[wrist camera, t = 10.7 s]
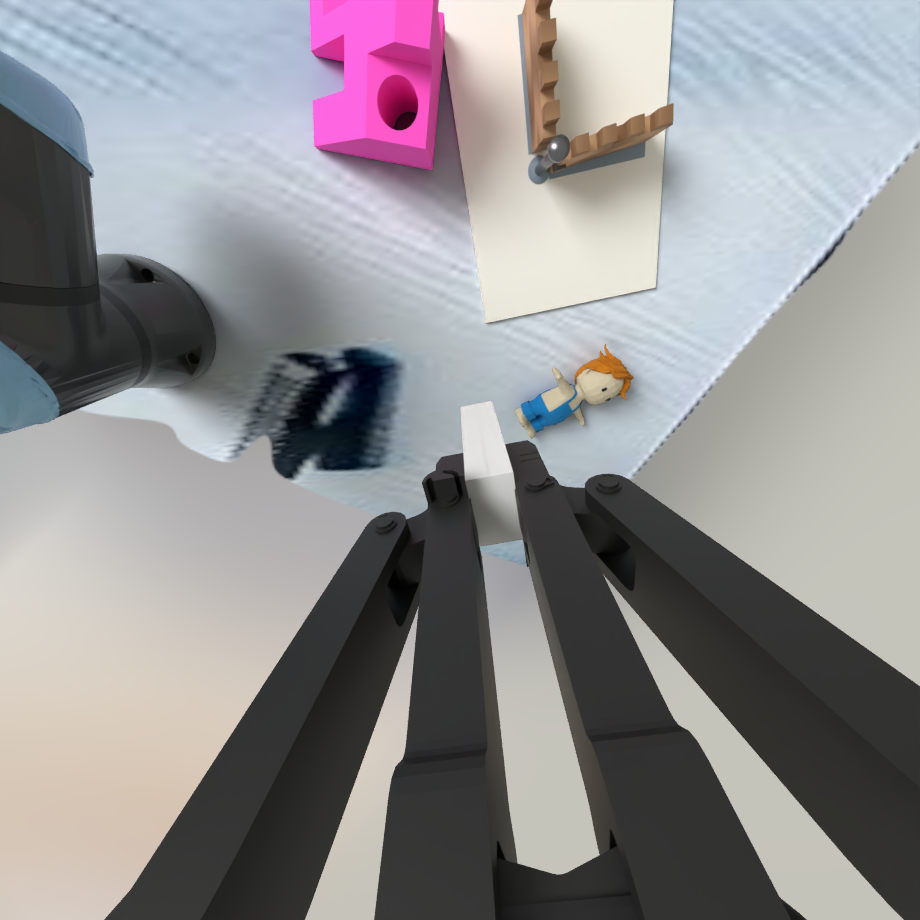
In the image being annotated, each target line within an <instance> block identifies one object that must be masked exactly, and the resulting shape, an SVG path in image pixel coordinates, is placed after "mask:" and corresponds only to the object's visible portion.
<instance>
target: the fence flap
mask: <svg viewBox="0 0 920 920" xmlns="http://www.w3.org/2000/svg"><path fill="white" fill-rule="evenodd" d="M671 125H673V104H670V105H667V106H664V107H661V108H659V109H657V110H656V111H655V112H653V113H652V114H651V115H649V116H646V117H645V113H643V114H640V115H638V116H635V117H632V118H630V119H629V120H627V121H626V122H625V123H624V124H622V125H619V126H617V123H614V124H611V125H608V126H605V127H603V128H602V129H600V130H599V131H598V132H597V133H596V134H593V135H590V136H589V132H588V133H585V134H582V135H579V136H576V137H575V138H574V139H573V140H572V141H571V142H570V151H569V154H568V156H567V157H566V158H565V159H564V160H563V161H562V162H560V163H553V164H552V165H551V166H550V167H549V169H550V173H556V172H559V171H562V170H564V169H565V168H568V167H571V166H574V165H577V164H580V163H583V162H586V161H589V160H592V159H595V158H598V157H601V156H604V155H607V154H610V153H613V152H616V151H619V150H622V149H625V148H628V147H631V146H634V145H637V144H640V143H643V142H646V141H648V140H649V139H651V138H652V137H654V136H655V135H657V134H659V133H660V132H662V131H663V130H665V129H666V128H668V127H669V126H671Z"/></svg>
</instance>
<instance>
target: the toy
mask: <svg viewBox="0 0 920 920" xmlns="http://www.w3.org/2000/svg"><path fill="white" fill-rule="evenodd" d="M604 348H605V352H606V355H607V356H604V355H603V354H602V353H601V351H600V357H599V358H598V359H595V360H592V361H590V362H588V363H587V364H585V365H583V366H582V367H581V368H580V369H579V370H578V371H577V373H576V375H575V383H576V385H575V386H574V385H571V384H568V383H567V381H566V380H565V379H564V377H563V376H562V374H561V373H560V371H559V370H558V369H557V368H555V367H553V368H552V371H553V373H554V375H555V377H556V380H557V383H558V387H556V388H553V389H550V390H547V391H545V392H544V393H542V394H539V395H538V396H537V397H536V398H535V399H534V400H532V401H530V402H529V401H527V402H525V403H523V404H521V407H519V408H517V409H515V412H516V415H517V418H518V420H519V422H520V424H521V425H522V427H525V428H526V430H527V433H528V435H529V436H530V438H531V439H532V438H534V437H535V431H536V432H538V431H540V430H543V427H544V426H549V425H555V424H557V423H559V422H561V421H563V420H565V419H566V418H567V417H568V416H570V415H571V414H573V413H574V415H575V416H576V417H577V419H578V420H579V422H580V424H581V425H582V426H583V425H584V423H585V421H584V418H583V415H582V412H581V409H580V405H581V402H582V400H587V401H588V402H589V403H590V404H593V405H596V404H601V403H604V402H606V401H608V400H610V399H612V398H613V397H614V396H615V395H617V394H618V393H619V392H620V391H621V393H619V394H618V395H621V396H622V397H623V398H624V399H626V400H627V398H626V397H625V393H626V392H627V391H628V389H629V387H630V383H631V381H630V380H632V379H633V376H632V375H631V374H630V373H629V372H628V371H627V370H626V367H624V365H623V364H622V362H621V361H620V360H619V359H617V358H616V357H613V356H612V355H611V354H610V353H609V351H608V350H607V348H606V344H605V347H604ZM618 395H617V396H618ZM629 401H630V400H629Z"/></svg>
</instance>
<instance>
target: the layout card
mask: <svg viewBox="0 0 920 920" xmlns="http://www.w3.org/2000/svg"><path fill="white" fill-rule="evenodd" d="M525 1H526V0H439V6H438V12H442V13H444V20H445V40H444V52H445V59H446V66H447V72H448V79H449V85H450V92H451V99H452V105H453V112H454V118H455V125H456V131H457V138H458V145H459V151H460V158H461V164H462V171H463V178H464V184H465V191H466V197H467V204H468V211H469V217H470V224H471V230H472V237H473V243H474V250H475V257H476V263H477V270H478V276H479V283H480V290H481V296H482V303H483V309H484V316H485V323H489V322H494V321H498V320H503V319H508V318H513V317H517V316H522V315H527V314H532V313H537V312H541V311H546V310H551V309H556V308H560V307H565V306H570V305H575V304H579V303H584V302H589V301H594V300H599V299H603V298H608V297H613V296H618V295H622V294H627V293H632V292H637V291H641V290H646V289H651V288H656V274H657V257H658V241H659V225H660V209H661V193H662V177H663V161H664V144H665V130H663V131H662V132H660V133H659V134H657V135H655V136H654V137H652V138H651V139H649V140H648V141H646V142H643V143H640V144H637V145H634V146H631V147H628V148H625V149H622V150H619V151H616V152H613V153H610V154H607V155H604V156H601V157H598V158H595V159H592V160H589V161H586V162H583V163H580V164H577V165H574V166H571V167H568V168H565V169H564V170H562V171H559V172H556V173H550V169H549V168H548V169H547V170H546V171H545V172H544V173H543V174H542V175H541V176H537V175H536V174H535V167H536V166H537V165H538V163H539V162H540V161H541V160H542V159H543V158H544V156H545V155H546V154H547V153H548V146H549V145H548V146H547V148H546V149H545V150H544V151H540V152H536V153H532V140H531V127H530V113H529V100H528V87H527V74H526V61H525V47H524V34H523V21H522V12H523V8H524V5H525ZM672 15H673V0H553V1H552V4H551V7H550V19H552V18H556V29H557V40H556V42H555V44H554V46H553V49H552V59H553V61H555V60H558V73H559V80H558V82H557V84H556V85H555V87H554V99H555V100H558V99H560V119H559V120H558V122H557V123H556V136H557V135H559V134H563V135H565V136H567V138H568V139H569V141H570V142H571V141H572V140H573V139H574V138H575V137H576V136H579V135H582V134H585V133H588V132H589V136H590V135H593V134H596V133H597V132H598V131H599V130H600V129H602V128H603V127H605V126H608V125H611V124H614V123H617V126H619V125H622V124H624V123H625V122H626V121H627V120H629V119H630V118H632V117H635V116H638V115H640V114H643V113H645V117H646V116H649V115H651V114H652V113H653V112H655V111H656V110H657V109H659V108H661V107H664V106H667V96H668V80H669V64H670V48H671V32H672Z"/></svg>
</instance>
